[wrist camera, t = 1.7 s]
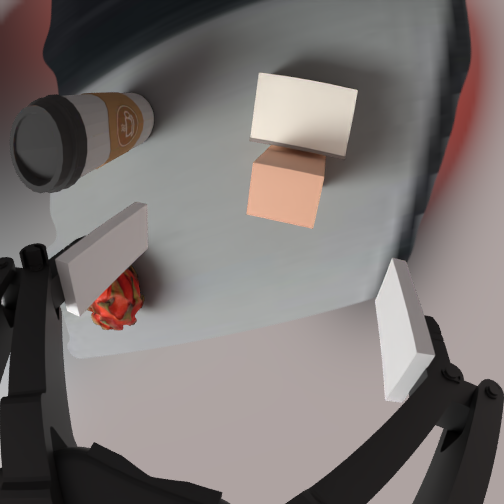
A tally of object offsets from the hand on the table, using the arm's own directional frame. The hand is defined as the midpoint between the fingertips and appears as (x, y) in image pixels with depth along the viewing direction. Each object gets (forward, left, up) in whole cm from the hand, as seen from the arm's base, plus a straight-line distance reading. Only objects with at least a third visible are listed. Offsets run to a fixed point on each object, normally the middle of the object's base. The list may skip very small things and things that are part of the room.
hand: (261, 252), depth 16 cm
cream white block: (-6, 0, -18) cm, 19 cm away
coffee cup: (-3, -19, -18) cm, 26 cm away
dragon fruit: (+20, -21, -18) cm, 34 cm away
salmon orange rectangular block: (0, 0, -18) cm, 18 cm away
